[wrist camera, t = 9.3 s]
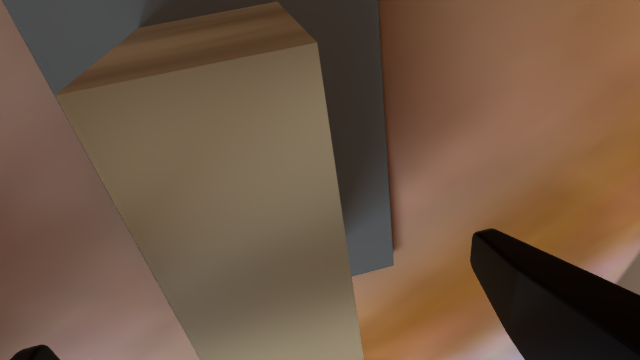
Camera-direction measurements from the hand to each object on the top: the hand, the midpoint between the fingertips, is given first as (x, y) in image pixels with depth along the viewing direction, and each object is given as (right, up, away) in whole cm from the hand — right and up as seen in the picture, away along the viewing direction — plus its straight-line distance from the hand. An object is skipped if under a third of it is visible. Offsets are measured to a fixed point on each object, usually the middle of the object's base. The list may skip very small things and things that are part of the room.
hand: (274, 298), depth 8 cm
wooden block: (-2, +3, +6) cm, 7 cm away
